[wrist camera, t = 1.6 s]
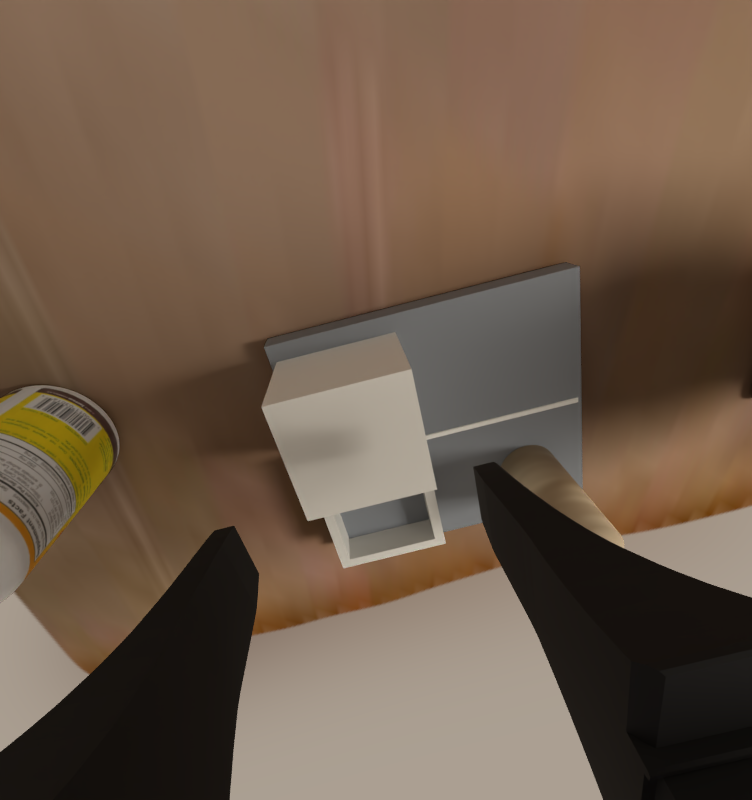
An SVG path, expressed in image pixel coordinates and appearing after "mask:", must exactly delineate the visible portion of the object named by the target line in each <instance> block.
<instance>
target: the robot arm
mask: <svg viewBox="0 0 752 800" xmlns="http://www.w3.org/2000/svg"><path fill="white" fill-rule="evenodd" d="M473 469H474V476H475V482H476V488H477V495H478V501H479V507H480V514H481V519H482V522H483V525H484V527H485V530H486V533H487V535H488V538H489V540H490V543H491V545H492V548H493V550H494V552H495V554H496V556H497V558H498V560H499V562H500V564H501V566H502V568H503V569H504V571H505V573H506V575H507V577H508V579H509V581H510V583H511V585H512V587H513V589H514V590H515V592H516V594H517V596H518V598H519V600H520V602H521V604H522V606H523V607H524V609H525V611H526V613H527V615H528V617H529V619H530V621H531V623H532V625H533V627H534V629H535V631H536V633H537V635H538V637H539V639H540V642H541V644H542V647H543V649H544V652H545V654H546V656H547V659H548V661H549V664H550V666H551V668H552V671H553V673H554V675H555V678H556V680H557V683H558V685H559V688H560V690H561V693H562V695H563V698H564V700H565V703H566V705H567V707H568V710H569V712H570V715H571V717H572V720H573V723H574V725H575V728H576V730H577V733H578V735H579V738H580V741H581V743H582V745H583V748H584V751H585V753H586V756H587V758H588V761H589V763H590V766H591V769H592V771H593V774H594V776H595V779H596V782H597V784H598V787H599V790H600V792H601V795H602V797H603V800H752V598H751V597H748V596H744V595H742V594H739V593H736V592H732V591H729V590H726V589H723V588H720V587H717V586H714V585H711V584H708V583H705V582H703V581H700V580H697V579H695V578H692V577H690V576H687V575H684V574H682V573H679V572H676V571H674V570H671V569H669V568H667V567H664V566H662V565H659V564H657V563H655V562H653V561H650V560H648V559H646V558H644V557H641V556H639V555H637V554H635V553H633V552H631V551H628V550H626V549H624V548H622V547H620V546H618V545H616V544H614V543H612V542H610V541H608V540H607V539H605V538H603V537H601V536H599V535H597V534H596V533H594V532H592V531H590V530H589V529H587V528H585V527H583V526H582V525H580V524H579V523H577V522H575V521H574V520H572V519H571V518H569V517H567V516H566V515H564V514H563V513H561V512H560V511H558V510H557V509H555V508H554V507H552V506H551V505H550V504H548V503H547V502H545V501H544V500H543V499H541V498H540V497H538V496H537V495H536V494H534V493H533V492H532V491H530V490H529V489H528V488H526V487H525V486H524V485H523V484H521V483H520V482H519V481H517V480H516V479H515V478H514V477H513V476H511V475H510V474H509V473H508V472H506V471H505V470H504V469H503V468H502V467H501V466H499V465H498V464H497V463H495V462H490V463H486V464H482V465H478V466H474V467H473ZM258 582H259V573H258V571H257V569H256V567H255V565H254V563H253V561H252V559H251V557H250V555H249V553H248V552H247V550H246V548H245V546H244V544H243V542H242V540H241V538H240V536H239V534H238V532H237V530H236V528H235V526H231V527H227V528H223V529H219V530H215V531H214V532H213V533H212V534H211V535H210V536H209V538H208V539H207V540H206V541H205V543H204V544H203V545H202V546H201V548H200V549H199V550H198V552H197V553H196V554H195V555H194V557H193V558H192V559H191V561H190V562H189V563H188V564H187V566H186V567H185V568H184V570H183V571H182V572H181V573H180V575H179V576H178V577H177V578H176V580H175V581H174V582H173V584H172V585H171V586H170V587H169V589H168V590H167V591H166V592H165V594H164V595H163V596H162V597H161V598H160V599H159V601H158V602H157V603H156V604H155V605H154V607H153V608H152V609H151V610H150V611H149V612H148V614H147V615H146V616H145V617H144V618H143V619H142V621H141V622H140V623H139V624H138V625H137V626H136V628H135V629H134V630H133V631H132V632H131V633H130V634H129V635H128V636H127V637H126V638H125V640H124V641H123V642H122V643H121V644H120V645H119V646H118V647H117V648H116V649H115V650H114V651H113V652H112V653H111V654H110V655H109V656H108V657H107V658H106V659H105V660H104V661H103V662H102V663H101V664H100V665H99V666H98V667H97V668H96V669H95V670H94V671H93V672H92V673H91V674H90V675H89V676H88V677H87V678H86V679H84V680H83V681H82V682H81V683H80V684H79V685H78V686H77V687H76V688H75V689H74V690H73V691H71V693H70V694H68V695H67V696H66V697H65V698H64V699H63V700H62V701H61V702H60V703H58V705H56V706H55V707H54V708H53V709H52V710H51V711H49V712H48V713H47V714H46V715H45V716H44V717H42V718H41V719H40V720H39V721H38V722H36V723H35V724H34V725H33V726H32V727H31V728H29V729H28V730H27V731H26V732H24V733H23V734H22V735H21V736H20V737H18V738H17V739H16V740H15V741H14V742H12V743H11V744H10V745H9V746H7V747H6V748H5V749H4V750H2V751H1V752H0V800H230V785H231V774H232V761H233V749H234V739H235V730H236V720H237V710H238V703H239V697H240V691H241V686H242V681H243V676H244V671H245V666H246V661H247V656H248V651H249V645H250V641H251V636H252V631H253V625H254V620H255V615H256V609H257V598H258Z"/></svg>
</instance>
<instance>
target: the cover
mask: <svg viewBox="0 0 752 800" xmlns="http://www.w3.org/2000/svg"><path fill="white" fill-rule="evenodd" d="M261 408H262V410H263V413H264V415H265V418H266V420H267V422H268V425H269V427H270V430H271V432H272V435H273V437H274V440H275V442H276V445H277V447H278V449H279V452H280V454H281V457H282V459H283V462H284V464H285V467H286V469H287V472H288V474H289V476H290V479H291V481H292V484H293V486H294V489H295V491H296V494H297V496H298V499H299V501H300V503H301V506H302V508H303V511H304V513H305V516H306V518H307V521H311V520H315V519H319V518H323V517H327V516H331V515H335V514H339V513H343V512H347V511H351V510H356V509H360V508H364V507H368V506H372V505H376V504H380V503H384V502H388V501H392V500H396V499H400V498H404V497H408V496H412V495H417V494H421V493H425V492H429V491H433V490H437V487H436V482H435V477H434V472H433V468H432V463H431V458H430V454H429V449H428V444H427V439H426V435H425V430H424V425H423V421H422V416H421V411H420V406H419V402H418V397H417V392H416V388H415V383H414V378H413V373H412V369H411V367H410V364H409V362H408V360H407V358H406V355H405V353H404V351H403V349H402V346H401V344H400V342H399V340H398V337H397V335H396V333H395V332H393V333H389V334H385V335H381V336H377V337H374V338H370V339H366V340H362V341H358V342H354V343H350V344H346V345H342V346H338V347H334V348H330V349H327V350H323V351H319V352H315V353H311V354H307V355H303V356H299V357H295V358H291V359H287V360H283V361H280V362H277V363H276V366H275V369H274V371H273V374H272V377H271V380H270V383H269V386H268V389H267V392H266V395H265V398H264V401H263V403H262V406H261Z"/></svg>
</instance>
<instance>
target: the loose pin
mask: <svg viewBox="0 0 752 800" xmlns="http://www.w3.org/2000/svg"><path fill="white" fill-rule="evenodd" d="M501 467H502V468H503V469H504V470H505V471H506V472H508V473H509V474H510V475H511V476H513V477H514V478H515V479H516V480H517V481H519V482H520V483H521V484H523V485H524V486H525V487H526V488H528V489H529V490H530V491H532V492H533V493H534V494H536V495H537V496H538V497H540V498H541V499H543V500H544V501H545V502H547V503H548V504H550V505H551V506H552V507H554V508H555V509H557V510H558V511H560V512H561V513H563V514H564V515H566V516H567V517H569V518H571V519H572V520H574V521H575V522H577V523H579V524H580V525H582V526H583V527H585V528H587V529H589V530H590V531H592V532H594V533H596V534H597V535H599V536H601V537H603V538H605V539H607V540H608V541H610V542H612V543H614V544H616V545H618V546H620V547H622V548H624V541H623V538H622V536H621V535H620V534H619V532H618V531H617V530H616V529H615V528H614V526H613V525H612V524H611V523H610V522H609V521H608V519H607V518H606V517H605V516H604V515H603V513H602V512H601V511H600V510H599V509H598V507H597V506H596V505H595V504H594V503H593V502H592V500H591V499H590V498H589V497H588V496H587V494H586V493H585V492H584V491H583V490H582V489H581V487H580V486H579V485H578V484H577V483H576V481H575V480H574V479H573V478H572V477H571V476H570V474H569V473H568V472H567V471H566V470H565V468H564V467H563V466H562V465H561V464H560V463H559V461H558V460H557V459H556V458H555V457H554V455H553V454H552V453H551V452H550V451H549V450H548V449H546V448H545V447H542V446H539V445H528V446H523V447H520V448H518V449H516V450H514V451H513V452H511V453H510V454H509V455H508V456H507V457H506V458H505V460H504V461H503V463H502V465H501Z"/></svg>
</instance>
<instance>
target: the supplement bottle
mask: <svg viewBox="0 0 752 800" xmlns="http://www.w3.org/2000/svg"><path fill="white" fill-rule="evenodd" d="M119 446H120V445H119V437H118V433H117V430H116V428H115V426H114V424H113V422H112V421H111V419H110V418H109V416H108V415H107V414H106V413H105V412H104V410H103V409H102V408H101V407H99V406H98V405H97V404H96V403H94V402H93V401H91V400H90V399H88V398H87V397H85V396H83V395H81V394H79V393H77V392H74V391H71V390H69V389H65V388H61V387H56V386H48V385H36V386H28V387H23V388H20V389H17V390H14V391H12V392H10V393H8V394H6V395H5V396H3V397H1V398H0V603H1V602H2V601H4V600H5V599H6V598H8V597H9V596H10V595H11V594H12V593H13V592H14V591H15V590H16V589H17V588H18V587H19V586H20V584H21V583H22V582H23V581H24V579H25V578H26V577H27V576H28V574H29V573H30V572H31V571H32V569H33V568H34V567H35V566H36V564H37V563H38V562H39V560H40V559H41V558H42V557H43V555H44V554H45V553H46V552H47V550H48V549H49V548H50V547H51V545H52V544H53V543H54V542H55V540H56V539H57V538H58V537H59V536H60V534H61V533H62V532H63V530H64V529H65V528H66V527H67V525H68V524H69V523H70V522H71V520H72V519H73V518H74V517H75V515H76V514H77V513H78V512H79V510H80V509H81V508H82V506H83V505H84V504H85V503H86V501H87V500H88V499H89V498H90V496H91V495H92V494H93V493H94V491H95V490H96V489H97V487H98V486H99V485H100V484H101V483H102V481H103V480H104V479H105V477H106V476H107V475H108V474H109V473H110V471H111V470H112V468H113V466H114V465H115V463H116V461H117V458H118V455H119Z"/></svg>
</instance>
